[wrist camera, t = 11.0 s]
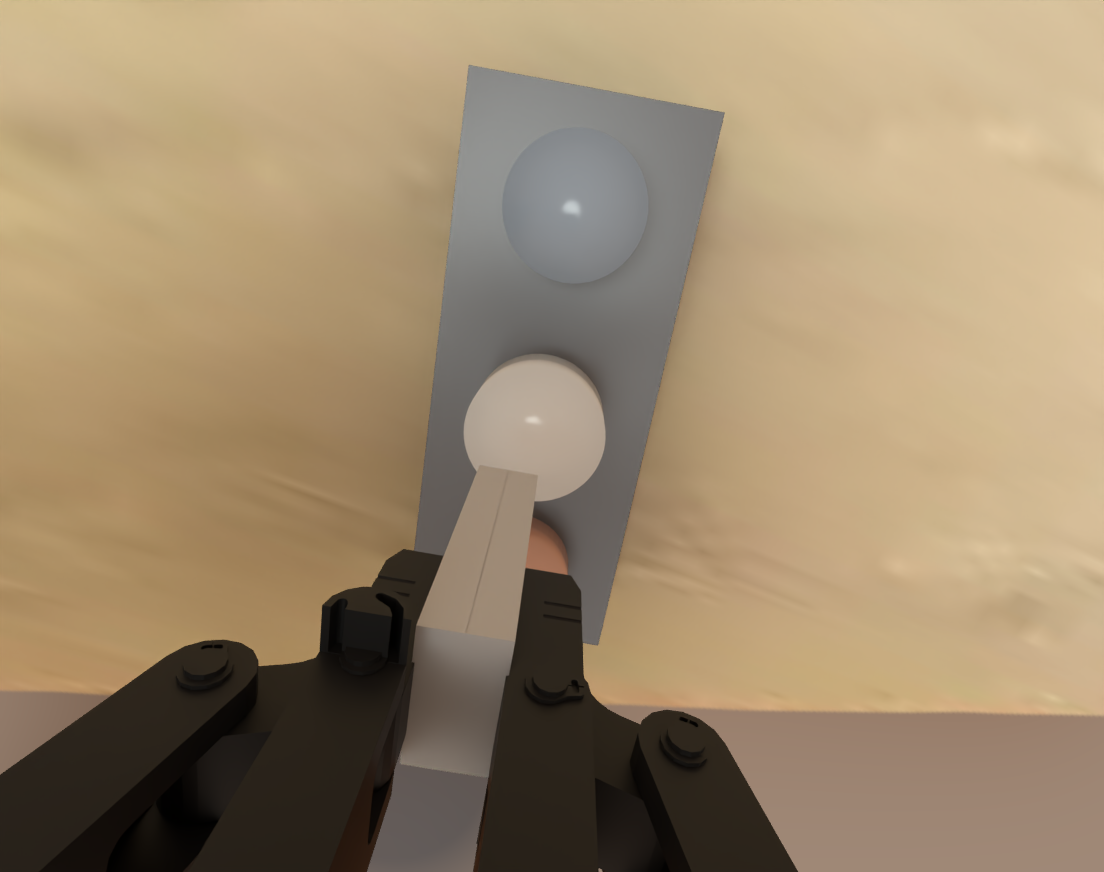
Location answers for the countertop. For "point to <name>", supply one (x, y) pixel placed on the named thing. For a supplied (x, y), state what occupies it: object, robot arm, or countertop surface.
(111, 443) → the countertop surface
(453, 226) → the key panel
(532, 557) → the terracotta key
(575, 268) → the pale blue knob
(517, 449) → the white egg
